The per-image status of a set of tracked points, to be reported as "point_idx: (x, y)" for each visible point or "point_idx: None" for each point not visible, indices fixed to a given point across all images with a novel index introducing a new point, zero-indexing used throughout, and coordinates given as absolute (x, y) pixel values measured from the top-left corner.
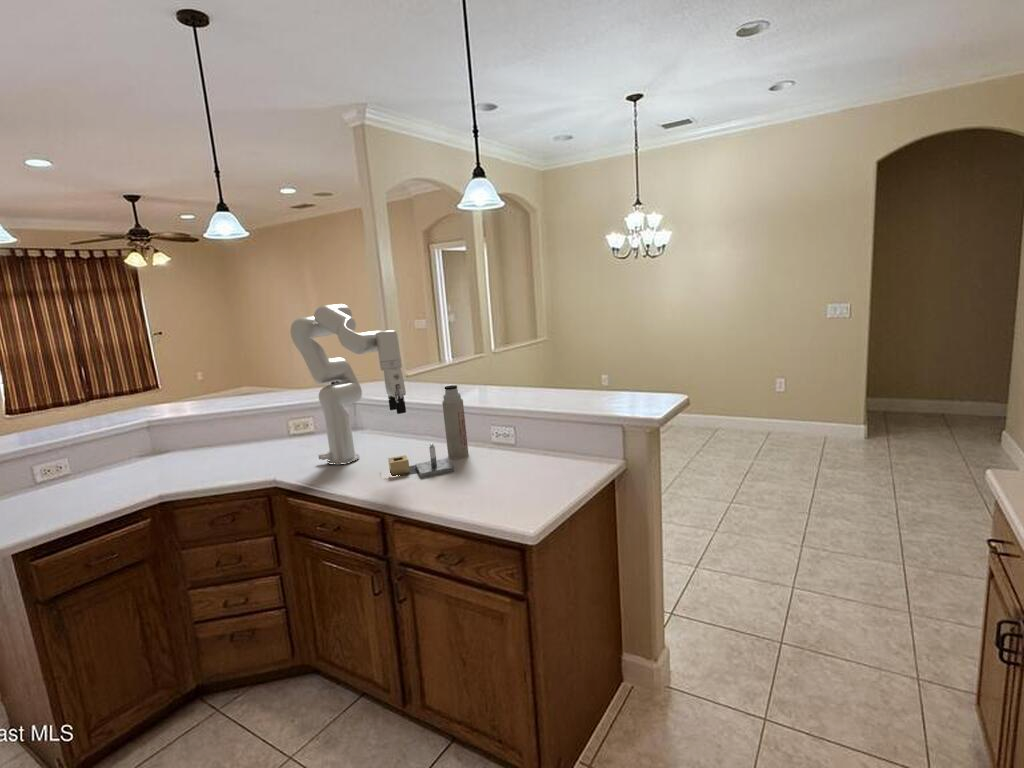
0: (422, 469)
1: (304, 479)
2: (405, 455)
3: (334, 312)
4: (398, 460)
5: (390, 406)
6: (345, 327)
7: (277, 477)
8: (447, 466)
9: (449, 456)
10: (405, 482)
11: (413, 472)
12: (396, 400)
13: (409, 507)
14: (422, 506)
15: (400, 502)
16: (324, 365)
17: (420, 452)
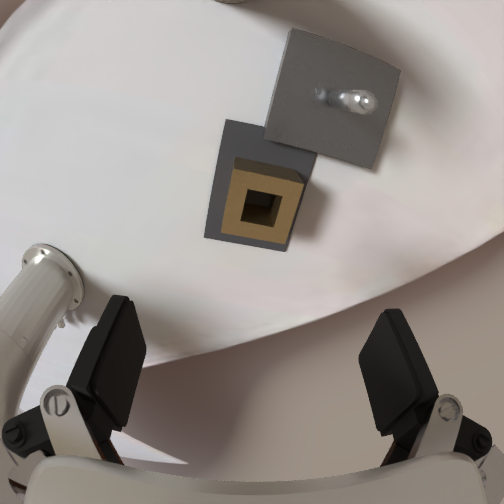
0: (343, 146)
1: None
2: (237, 171)
3: None
4: (279, 213)
5: (138, 375)
6: None
7: None
8: (381, 77)
9: (236, 1)
10: (351, 208)
11: (298, 159)
12: (403, 450)
13: (460, 254)
14: (474, 236)
15: (434, 259)
16: None
17: (90, 71)
